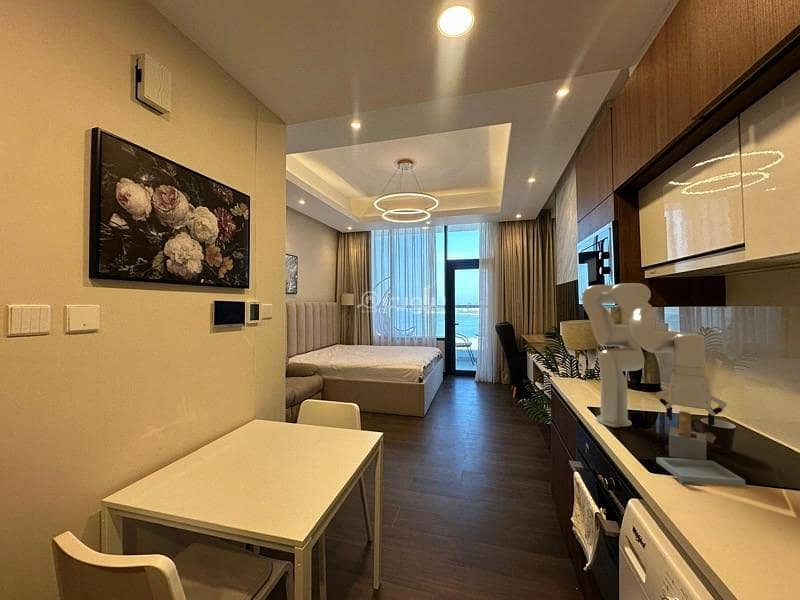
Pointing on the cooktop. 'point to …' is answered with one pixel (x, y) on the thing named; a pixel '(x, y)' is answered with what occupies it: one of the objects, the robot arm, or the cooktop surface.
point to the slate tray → (699, 472)
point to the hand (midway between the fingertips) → (689, 423)
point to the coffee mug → (718, 435)
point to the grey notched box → (687, 445)
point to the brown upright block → (684, 424)
